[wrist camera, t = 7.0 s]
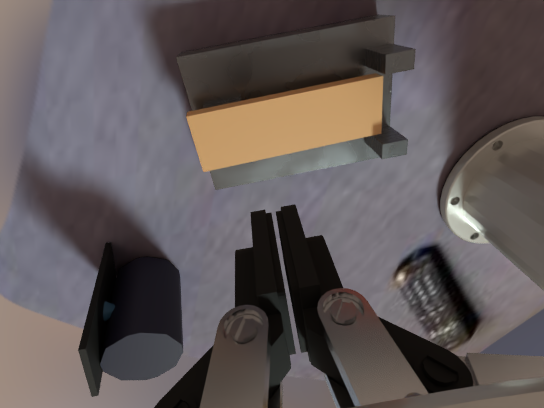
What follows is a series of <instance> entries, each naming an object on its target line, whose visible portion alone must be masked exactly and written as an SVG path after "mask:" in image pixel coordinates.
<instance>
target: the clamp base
mask: <svg viewBox="0 0 544 408" xmlns="http://www.w3.org/2000/svg"><path fill="white" fill-rule="evenodd" d="M394 29H395V16H392V15H375V16H369V17H364V18H359V19H354V20H348V21H343V22H338V23H333V24H327V25H322V26H317V27H312V28H306V29H301V30H296V31H291V32H285V33H280V34H275V35H270V36H264V37H259V38H254V39H249V40H243V41H238V42H233V43H228V44H223V45H217V46H212V47H207V48H202V49H196V50H191V51H186V52H181V53H180V54H179V55H178V56H177V57H176V59H177V62H178V66H179V69H180V72H181V76H182V79H183V82H184V86H185V89H186V93H187V96H188V99H189V103H190V106H191V109H192V111H194V110H199V109H204V108H209V107H214V106H218V105H223V104H228V103H233V102H238V101H243V100H248V99H252V98H257V97H262V96H267V95H272V94H277V93H282V92H286V91H291V90H296V89H301V88H306V87H311V86H316V85H320V84H325V83H330V82H335V81H340V80H345V79H350V78H354V77H359V76H364V75H369V74H374V73H377V74H379V75H382V76H383V101H382V129H381V134H377V135H372V136H368V137H363V138H359V139H354V140H349V141H345V142H340V143H336V144H331V145H326V146H322V147H317V148H313V149H308V150H303V151H299V152H294V153H290V154H285V155H280V156H276V157H271V158H266V159H262V160H257V161H253V162H248V163H243V164H239V165H234V166H230V167H225V168H220V169H216V170H211V171H210V173H211V176H212V180H213V183H214V187H215V190H218V189H223V188H228V187H233V186H238V185H244V184H249V183H254V182H259V181H264V180H269V179H274V178H279V177H284V176H289V175H294V174H299V173H304V172H309V171H314V170H319V169H324V168H329V167H334V166H339V165H344V164H349V163H354V162H359V161H364V160H369V159H374V158H381V159H386V158H391V157H396V156H401V155H406V154H407V145H408V139H406V138H405V137H404V136H402V135H401V134H400V133H398V132H397V131H395V130H394V129H393V128H391V127H390V110H391V90H392V73H396V72H401V71H407V70H412V69H414V61H415V49H413V48H408V47H404V46H399V45H395V44H394Z"/></svg>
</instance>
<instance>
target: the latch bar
mask: <svg viewBox="0 0 544 408" xmlns="http://www.w3.org/2000/svg"><path fill="white" fill-rule="evenodd" d="M382 101H383V76H382V75H379V74H377V73H374V74H369V75H364V76H359V77H354V78H350V79H345V80H340V81H335V82H330V83H325V84H320V85H316V86H311V87H306V88H301V89H296V90H291V91H286V92H282V93H277V94H272V95H267V96H262V97H257V98H252V99H248V100H243V101H238V102H233V103H228V104H223V105H218V106H214V107H209V108H204V109H199V110H194V111H189V112H187V116H186V118H187V121H188V124H189V127H190V130H191V134H192V137H193V140H194V143H195V147H196V150H197V153H198V156H199V159H200V163H201V166H202V169H203V172H207V171H211V170H216V169H220V168H225V167H230V166H234V165H239V164H243V163H248V162H253V161H257V160H262V159H266V158H271V157H276V156H280V155H285V154H290V153H294V152H299V151H303V150H308V149H313V148H317V147H322V146H326V145H331V144H336V143H340V142H345V141H349V140H354V139H359V138H363V137H368V136H372V135H377V134H381V129H382Z"/></svg>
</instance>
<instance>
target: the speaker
mask: <svg viewBox="0 0 544 408" xmlns="http://www.w3.org/2000/svg"><path fill="white" fill-rule="evenodd" d="M78 351H79V354H80V358H81V361H82V365H83V368H84V372H85V375H86V378H87V382H88V385H89V389H90V392H91V396H92V397H93V396H97V395H98V394H99V388H100V382H101V377H102V372H103V371H104V372H105V373H107V374H109V375H111V376H114V377H116V378H118V379H120V380H147V379H151V378H155V377H158V376H160V375H161V374H163V373H165V372H166V371H168V370H170V369H171V368H173V367H175V366H176V365H177V363H178V361H179V359H180V357H181V355H182V353H183V334H182V310H181V286H180V274H179V270H177V269H176V268H175V267H174V266H173V265H172V264H171V263H170V262H169V261H167V260H164V259H158V258H152V257H143V258H137V259H135V260H133V261H132V262H130V263H128V264H127V265H125V266H124V267H122V268H120V270H119V273H118V276H117V277H116V271H115V265H114V258H113V252H112V246H111V243H106V244H105V248H104V252H103V256H102V260H101V264H100V268H99V272H98V275H97V279H96V283H95V287H94V291H93V295H92V299H91V303H90V306H89V310H88V314H87V318H86V322H85V326H84V330H83V334H82V338H81V341H80V345H79V349H78Z"/></svg>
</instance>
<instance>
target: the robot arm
mask: <svg viewBox="0 0 544 408" xmlns="http://www.w3.org/2000/svg"><path fill="white" fill-rule="evenodd" d="M440 211H441V215H442V219H443V221H444V222H445V224H446V226H447V227H448V228H449V229H450V230H451V231H452V232H453V233H454V234H455V235H456V236H458V237H459V238H461V239H462V240H465V241H468V242H472V243H480V244H483V243H491V244H492V245H493V246H494V247H495V248H496V249H498V250H499V251H500V252H501V253H502V254H503V255H504V256H505V257H506V258H508V259H509V260H510V261H511V262H512V263H513V264H514V265H515V266H517V267H518V268H519V269H520V270H521V271H522V272H523V273H524V274H526V275H527V276H528V277H529V278H530V279H531V280H532V281H533V282H534V283H536V284H537V285H538V286H539V287H540V288H541V289H542V290H543V291H544V116H533V117H528V118H523V119H519V120H516V121H513V122H510V123H508V124H505V125H503V126H501V127H499V128H498V129H496V130H494V131H492V132H490V133H489V134H487V135H486V136H485V137H483V138H482V139H481V140H479V141H478V142H477V143H475V144H474V145H473V146H472V147H471V148H470V149H469V150H468V151H467V152H466V153H465V154H464V155H463V156H462V158H461V159H460V160H459V161H458V162H457V164H456V165H455V166H454V168H453V170H452V171H451V173H450V174H449V176H448V178H447V180H446V183H445V185H444V187H443V190H442V195H441V200H440ZM276 216H277V222H278V228H279V234H280V240H281V246H282V253H283V259H284V265H285V271H286V276H287V281H288V286H289V292H290V297H291V302H292V307H293V313H294V318H295V323H296V328H297V333H298V339H299V344H300V349H301V353H302V352H308V356H309V361H310V362H311V365H313V366H314V367H316V368H317V369H319V370H320V371H322V372H323V373H324V377H325V380H326V383H327V385H328V387H329V390H330V393H331V395H332V398H333V400H334V402H335V405H336V407H337V408H544V357H541V356H540V357H539V356H521V355H520V356H519V355H499V354H479V353H467V354H466V357H463V356H456V355H455V354H453V353H452V352H450V351H448V350H447V349H444V348H442V347H440V346H438V345H436V344H434V343H432V342H430V341H428V340H426V339H424V338H421V337H419V336H417V335H415V334H413V333H411V332H409V331H407V330H405V329H403V328H401V327H398V326H396V325H394V324H392V323H390V322H388V321H386V320H384V319H382V318H380V317H378V316H377V315H376V313H375V312H374V310H373V309H372V307H371V306H370V304H369V303H368V301H367V300H366V299H365V298H364V297H363V296H362V295H361V294H360V293H358V292H356V291H354V290H351V289H346V288H343V286H342V284H341V281H340V278H339V276H338V273H337V271H336V268H335V266H334V263H333V260H332V258H331V255H330V253H329V250H328V247H327V245H326V242H325V240H324V237H323V236H322V235H320V236H314V237H309V238H305V235H304V231H303V228H302V225H301V222H300V218H299V215H298V212H297V208H296V205H289V206H284V207H281V211H277V212H276ZM251 225H252V239H253V247H251V248H246V249H240V250H236V251H235V308H233V309H231V310H230V311H228V312H227V313H226V314H225V315H224V316H223V317H222V319H221V320H220V323H219V325H218V328H217V333H216V337H215V342H214V345H213V346H212V347H211V348H210V349H209V350H208V351H207V352H206V353H205V354H204V355H203V357H202V358H201V359H200V360H199V361H198V362H197V363H196V364H195V365H194V366H193V367H192V368H191V369H190V370H189V371H188V372H187V373H186V374H185V375H184V376H183V378H181V379H180V380H179V381H178V382H177V383H176V384H175V386H174V387H172V389H171V390H170V391H169V392H168V393H167V394H166V395H165V396H164V397H163V398H162V399H161V400H160V401H159V402H158V403H157V405H156V406H155V407H154V408H282V404H283V384H282V380H283V378H284V377H285V376H286V374H287V373H288V372H289V370H290V369H291V366H290V365H291V362H290V355H291V354H296V352H295V346H294V340H293V334H292V329H291V323H290V317H289V311H288V305H287V300H286V294H285V288H284V282H283V277H282V271H281V265H280V260H279V254H278V248H277V243H276V237H275V231H274V225H273V220H272V214H271V213H266V212H265V210H261V211H255V212H251Z"/></svg>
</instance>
